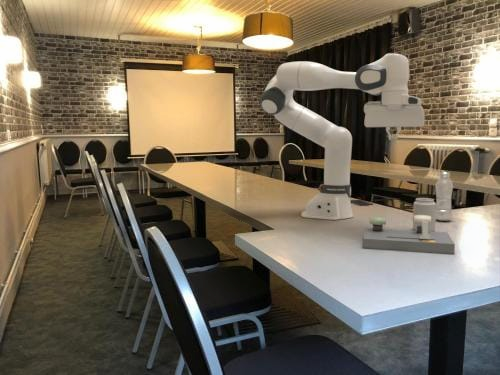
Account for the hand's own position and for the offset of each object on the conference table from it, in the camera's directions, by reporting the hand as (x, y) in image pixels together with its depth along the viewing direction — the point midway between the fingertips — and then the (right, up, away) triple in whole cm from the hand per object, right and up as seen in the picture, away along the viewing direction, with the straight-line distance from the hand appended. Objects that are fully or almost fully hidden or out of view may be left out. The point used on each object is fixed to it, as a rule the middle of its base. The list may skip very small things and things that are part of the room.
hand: (393, 140), depth 148 cm
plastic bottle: (+28, -31, +22) cm, 47 cm away
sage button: (-8, -29, -7) cm, 31 cm away
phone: (+6, -26, +68) cm, 73 cm away
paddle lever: (+3, -33, -20) cm, 39 cm away
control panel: (-1, -35, -14) cm, 38 cm away
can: (+13, -33, +5) cm, 36 cm away
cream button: (+6, -28, -12) cm, 31 cm away
